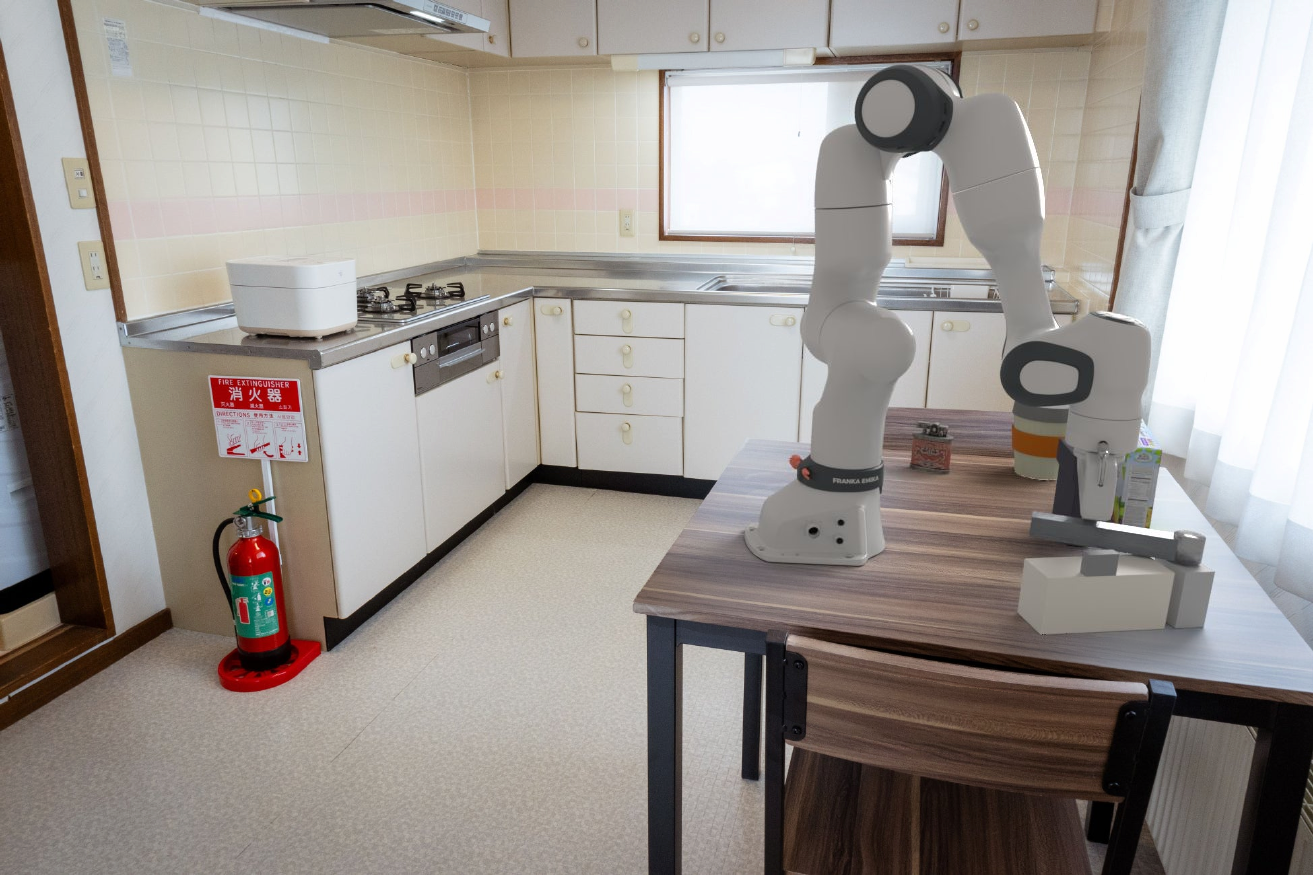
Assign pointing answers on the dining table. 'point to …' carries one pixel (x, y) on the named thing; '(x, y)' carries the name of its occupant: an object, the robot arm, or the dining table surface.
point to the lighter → (931, 448)
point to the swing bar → (1120, 537)
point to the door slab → (1095, 593)
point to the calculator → (1067, 483)
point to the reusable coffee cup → (1038, 439)
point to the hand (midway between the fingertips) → (1088, 527)
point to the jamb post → (1188, 594)
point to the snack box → (1137, 482)
